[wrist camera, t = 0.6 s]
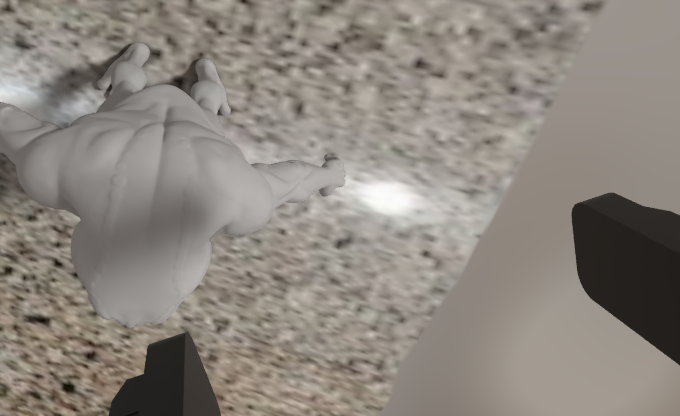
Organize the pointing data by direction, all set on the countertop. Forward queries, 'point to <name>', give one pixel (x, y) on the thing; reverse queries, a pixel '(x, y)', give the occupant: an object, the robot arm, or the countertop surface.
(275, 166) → the figurine
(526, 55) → the countertop surface
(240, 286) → the countertop surface
